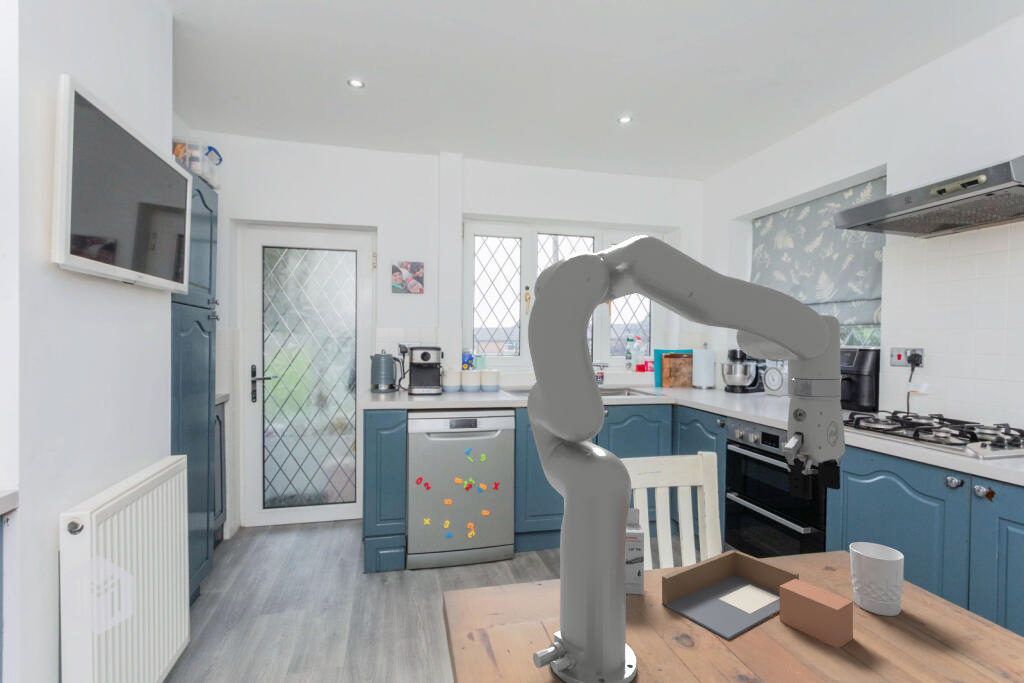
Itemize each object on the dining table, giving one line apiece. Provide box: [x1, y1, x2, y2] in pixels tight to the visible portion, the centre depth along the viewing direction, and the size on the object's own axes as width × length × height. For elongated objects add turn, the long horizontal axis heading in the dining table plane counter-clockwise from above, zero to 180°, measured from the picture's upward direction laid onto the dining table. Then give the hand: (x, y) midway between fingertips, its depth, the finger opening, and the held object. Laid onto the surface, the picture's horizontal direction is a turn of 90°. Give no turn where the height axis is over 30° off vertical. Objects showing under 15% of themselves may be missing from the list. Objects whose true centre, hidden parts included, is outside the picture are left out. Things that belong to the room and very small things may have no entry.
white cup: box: [849, 541, 905, 617], centre depth 87 cm, size 8×8×10 cm
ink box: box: [626, 507, 645, 595], centre depth 94 cm, size 9×5×15 cm, turn 84°
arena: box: [661, 548, 800, 641], centre depth 88 cm, size 22×13×5 cm, turn 123°
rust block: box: [779, 579, 854, 649], centre depth 80 cm, size 5×9×6 cm, turn 32°
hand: (815, 492), depth 80 cm, fingers open, 9 cm apart
